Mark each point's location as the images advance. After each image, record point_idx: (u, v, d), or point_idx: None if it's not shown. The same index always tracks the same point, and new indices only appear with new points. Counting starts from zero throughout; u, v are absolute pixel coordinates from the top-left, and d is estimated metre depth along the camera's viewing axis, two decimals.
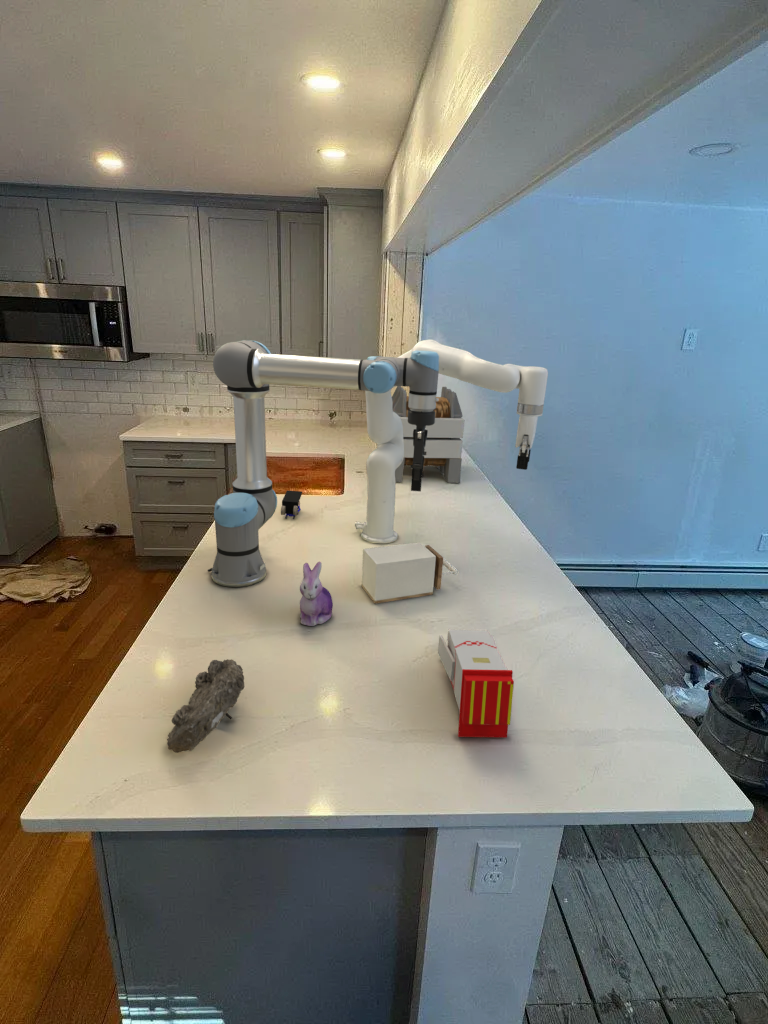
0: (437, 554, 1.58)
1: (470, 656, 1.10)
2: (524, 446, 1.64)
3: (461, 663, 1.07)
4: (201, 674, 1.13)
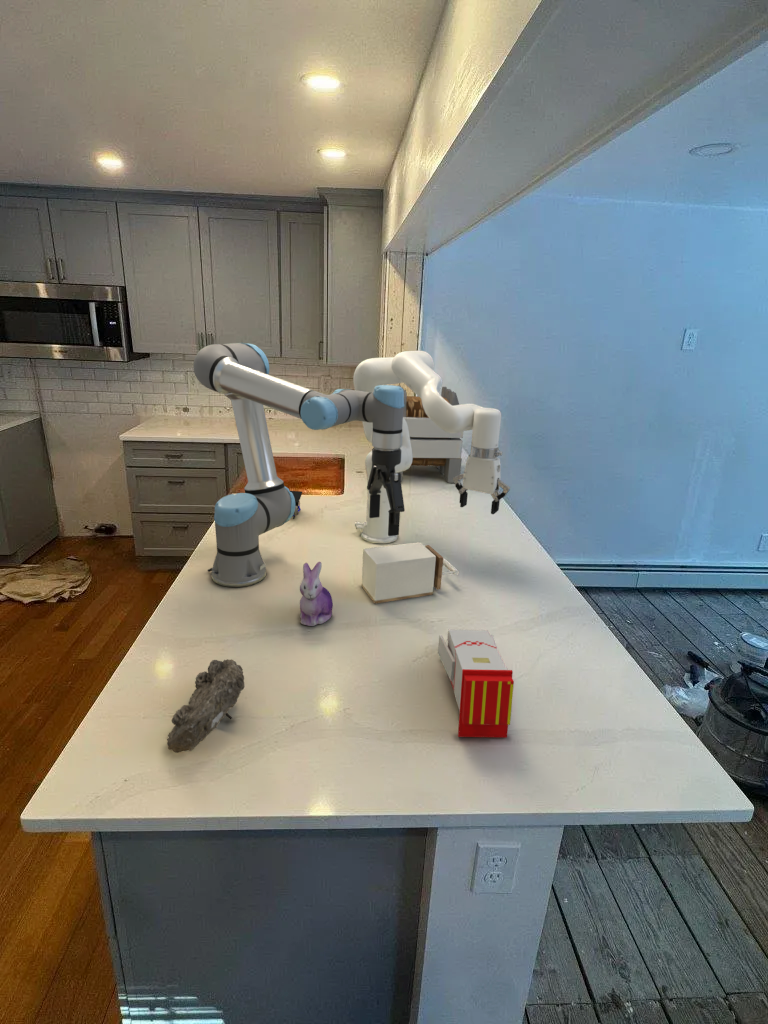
0: (437, 554, 1.58)
1: (470, 656, 1.10)
2: None
3: (461, 663, 1.07)
4: (201, 674, 1.13)
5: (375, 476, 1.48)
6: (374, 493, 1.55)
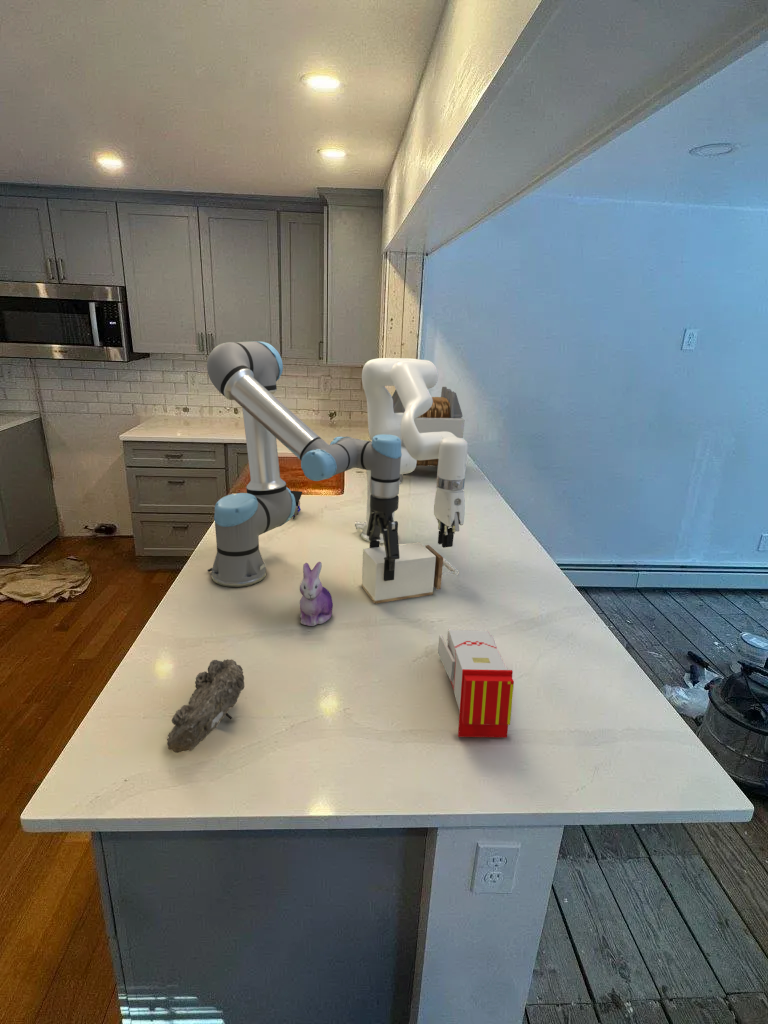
0: (437, 554, 1.58)
1: (470, 656, 1.10)
2: None
3: (461, 663, 1.07)
4: (201, 674, 1.13)
5: (373, 522, 1.53)
6: (374, 540, 1.58)
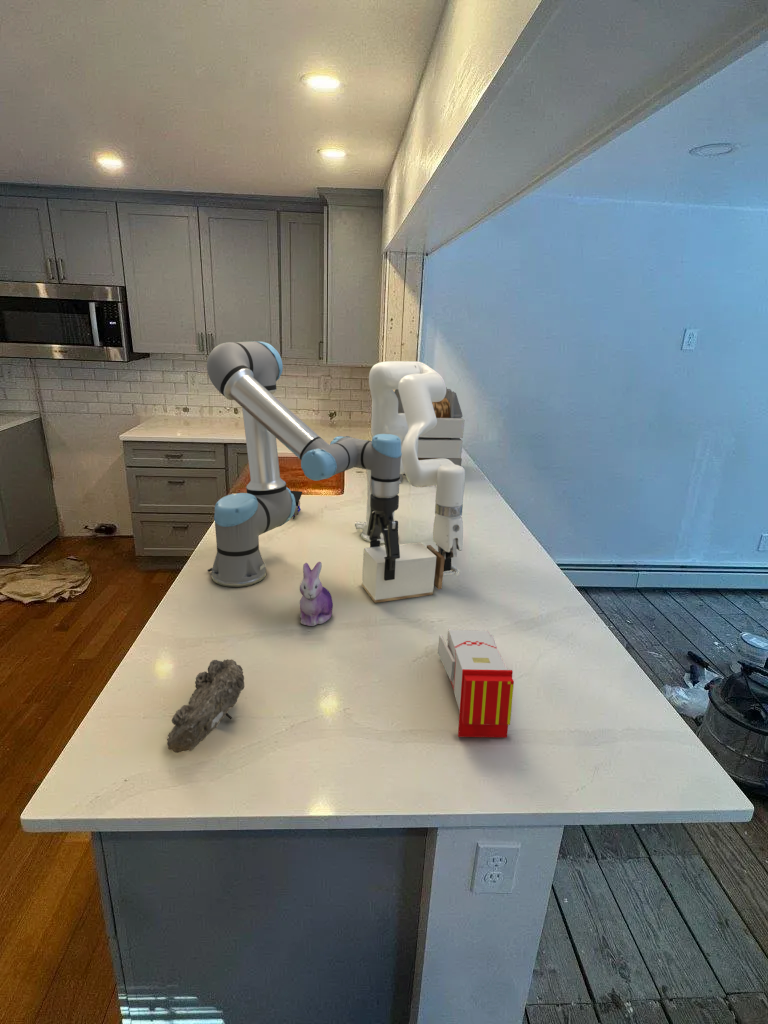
0: (439, 554, 1.58)
1: (470, 656, 1.10)
2: None
3: (461, 663, 1.07)
4: (201, 674, 1.13)
5: (374, 521, 1.53)
6: (374, 539, 1.58)
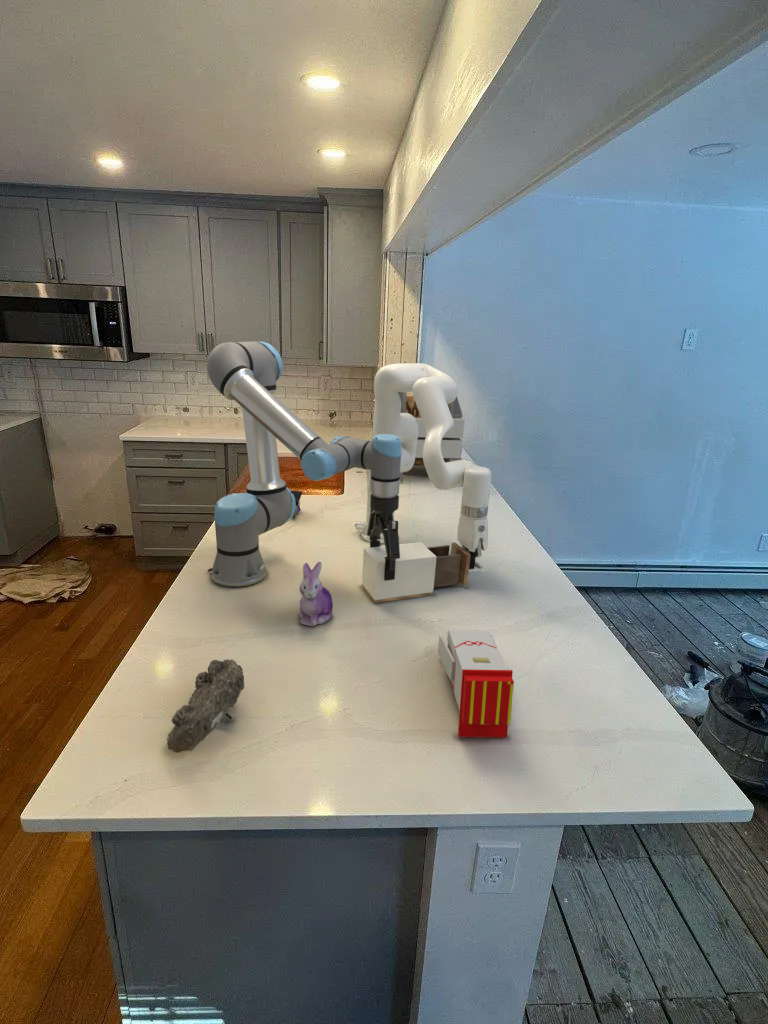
0: (464, 551, 1.61)
1: (470, 656, 1.10)
2: None
3: (461, 663, 1.07)
4: (201, 674, 1.13)
5: (374, 521, 1.53)
6: (374, 539, 1.58)
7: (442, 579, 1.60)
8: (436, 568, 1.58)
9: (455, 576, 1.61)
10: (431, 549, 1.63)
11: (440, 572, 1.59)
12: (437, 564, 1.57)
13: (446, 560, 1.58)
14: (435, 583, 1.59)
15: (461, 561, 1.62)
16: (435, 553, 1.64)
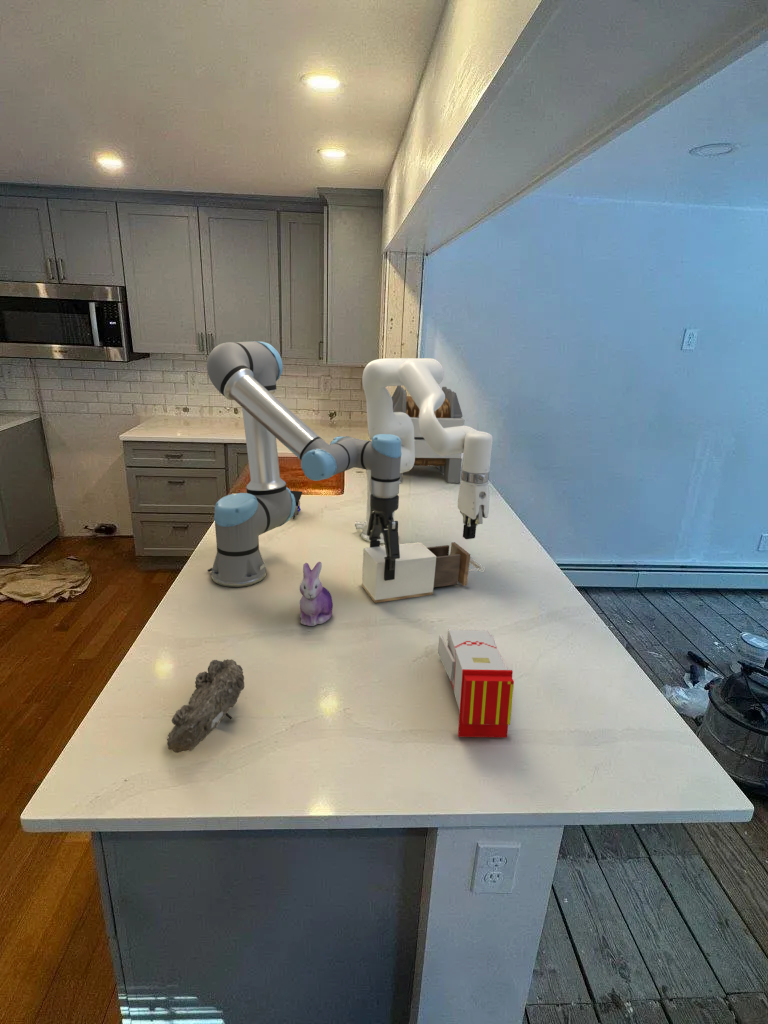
0: (464, 551, 1.61)
1: (470, 656, 1.10)
2: None
3: (461, 663, 1.07)
4: (201, 674, 1.13)
5: (374, 521, 1.53)
6: (374, 539, 1.58)
7: (442, 579, 1.60)
8: (436, 568, 1.58)
9: (455, 576, 1.61)
10: (431, 549, 1.63)
11: (440, 572, 1.59)
12: (437, 564, 1.57)
13: (446, 560, 1.58)
14: (435, 583, 1.59)
15: (461, 561, 1.62)
16: (435, 553, 1.64)
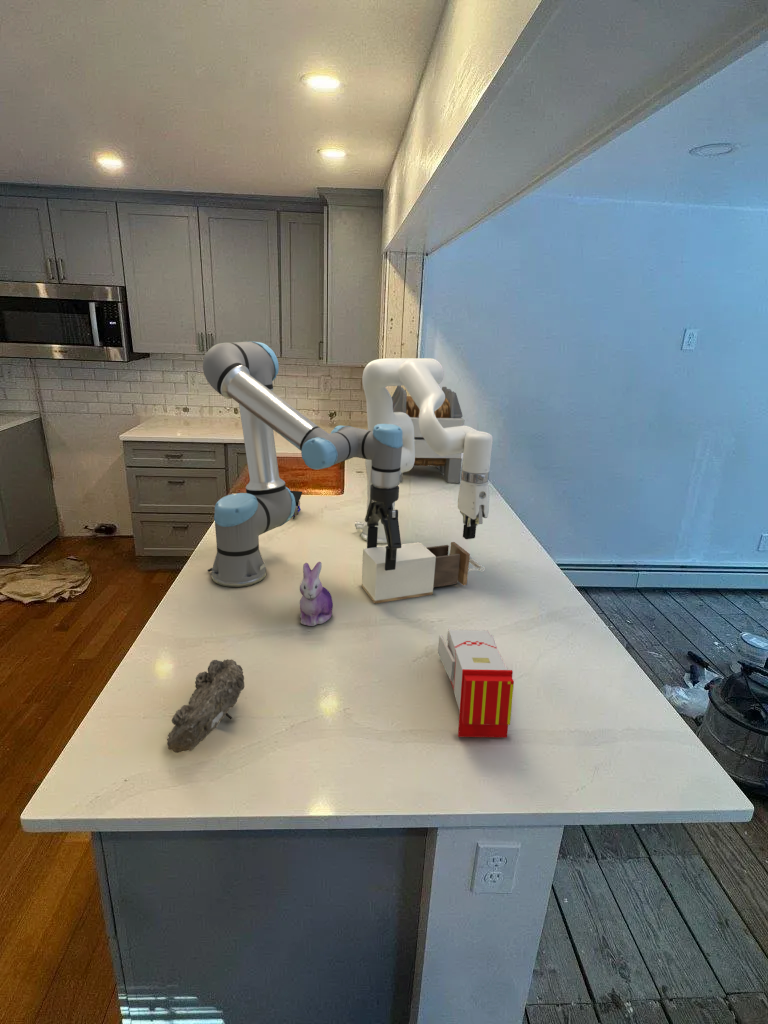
0: (463, 551, 1.61)
1: (470, 656, 1.10)
2: None
3: (461, 663, 1.07)
4: (201, 674, 1.13)
5: (373, 511, 1.52)
6: (372, 526, 1.58)
7: (442, 579, 1.60)
8: (435, 568, 1.58)
9: (455, 575, 1.61)
10: (430, 549, 1.63)
11: (440, 572, 1.59)
12: (436, 564, 1.57)
13: (445, 560, 1.58)
14: (434, 583, 1.59)
15: (460, 561, 1.62)
16: (434, 553, 1.64)
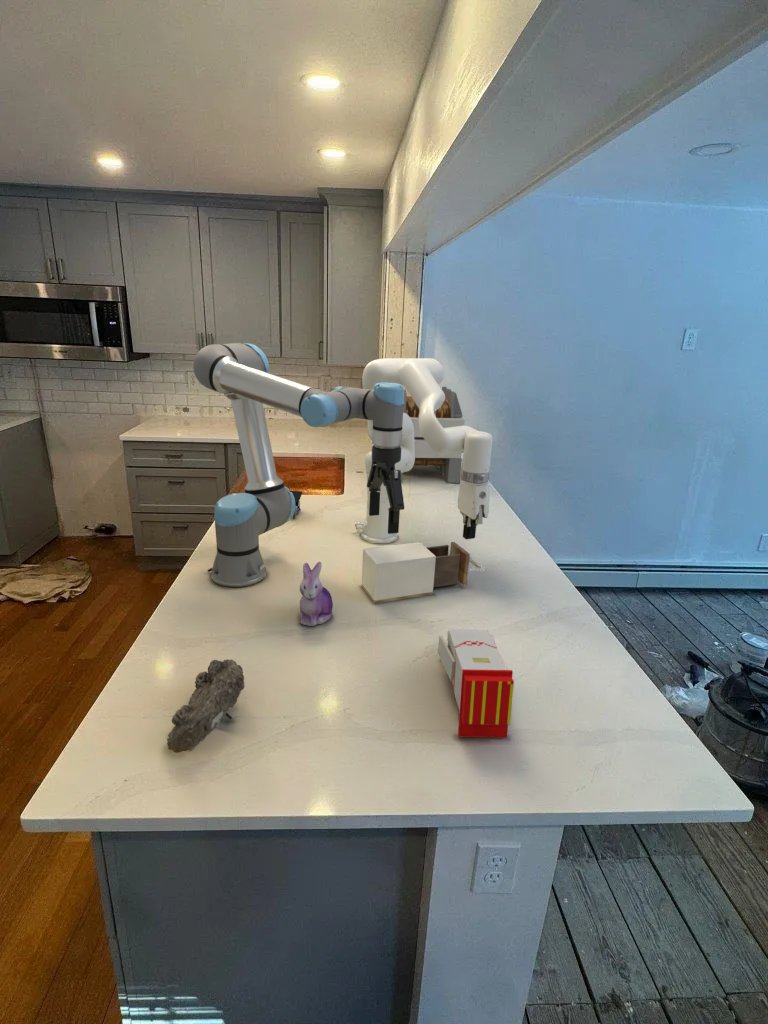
0: (463, 551, 1.61)
1: (470, 656, 1.10)
2: None
3: (461, 663, 1.07)
4: (201, 674, 1.13)
5: (375, 474, 1.48)
6: (374, 491, 1.55)
7: (442, 579, 1.60)
8: (435, 568, 1.58)
9: (455, 575, 1.61)
10: (430, 549, 1.63)
11: (440, 572, 1.59)
12: (436, 564, 1.57)
13: (445, 560, 1.58)
14: (434, 583, 1.59)
15: (460, 561, 1.62)
16: (434, 553, 1.64)
